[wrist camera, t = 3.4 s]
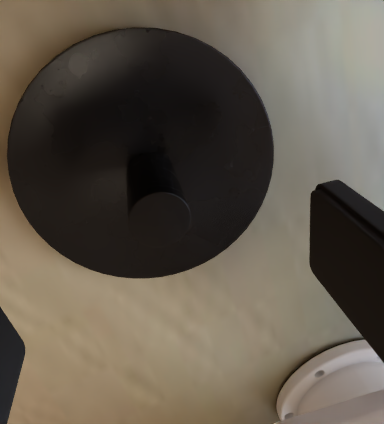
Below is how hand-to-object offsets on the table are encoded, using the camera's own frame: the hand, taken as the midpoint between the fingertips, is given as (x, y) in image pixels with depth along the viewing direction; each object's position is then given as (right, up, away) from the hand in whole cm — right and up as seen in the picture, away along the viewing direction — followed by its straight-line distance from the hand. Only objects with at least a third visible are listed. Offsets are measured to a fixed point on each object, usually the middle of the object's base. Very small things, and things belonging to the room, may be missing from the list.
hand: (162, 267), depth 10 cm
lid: (-1, +4, +7) cm, 8 cm away
